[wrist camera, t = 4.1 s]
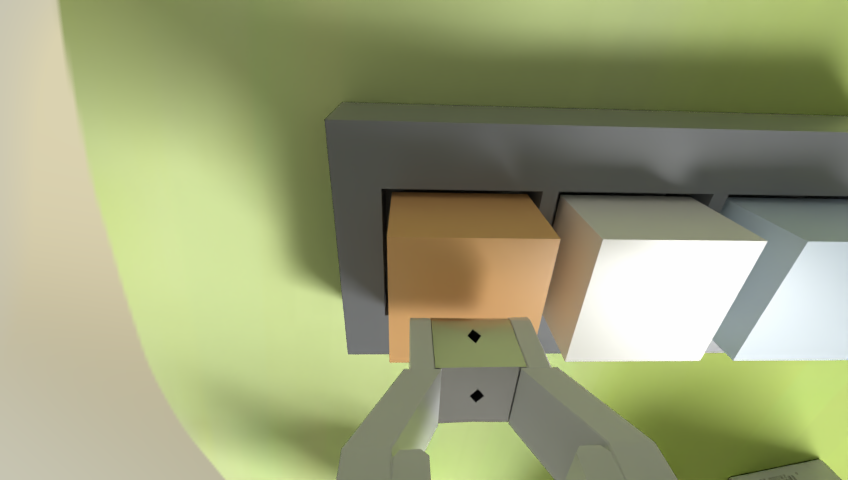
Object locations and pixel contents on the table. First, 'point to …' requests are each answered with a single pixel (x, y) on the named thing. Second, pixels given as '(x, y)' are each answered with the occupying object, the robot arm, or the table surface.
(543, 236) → the orange key
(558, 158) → the keypad
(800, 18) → the table surface
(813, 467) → the coffee box
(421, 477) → the robot arm
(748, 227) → the blue key
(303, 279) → the table surface
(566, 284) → the white key
